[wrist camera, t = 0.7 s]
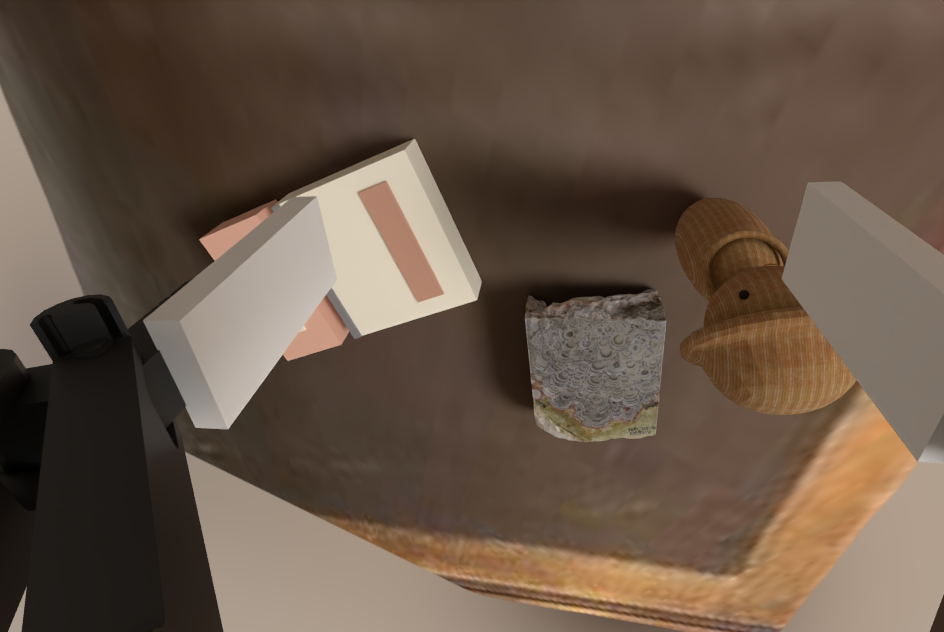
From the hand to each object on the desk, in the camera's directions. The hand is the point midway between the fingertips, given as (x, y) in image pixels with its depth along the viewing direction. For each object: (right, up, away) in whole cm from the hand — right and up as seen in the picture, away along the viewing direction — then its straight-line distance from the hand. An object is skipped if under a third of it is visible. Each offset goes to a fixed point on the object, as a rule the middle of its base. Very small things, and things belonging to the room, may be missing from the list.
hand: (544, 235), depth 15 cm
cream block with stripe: (-9, +4, +30) cm, 31 cm away
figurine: (+15, +5, +25) cm, 30 cm away
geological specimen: (+9, -5, +34) cm, 35 cm away
